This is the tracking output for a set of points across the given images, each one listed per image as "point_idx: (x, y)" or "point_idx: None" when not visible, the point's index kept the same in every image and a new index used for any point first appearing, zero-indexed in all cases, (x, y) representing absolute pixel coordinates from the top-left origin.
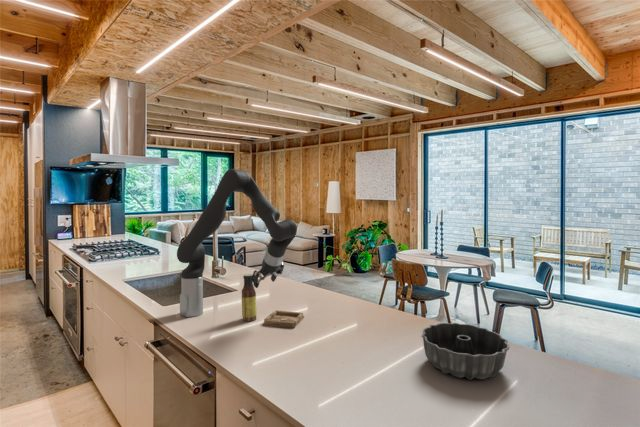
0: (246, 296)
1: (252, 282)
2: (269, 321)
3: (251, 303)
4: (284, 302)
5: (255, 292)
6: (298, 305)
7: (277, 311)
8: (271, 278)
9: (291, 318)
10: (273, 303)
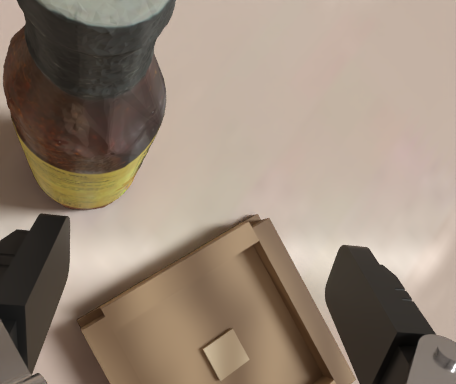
0: (23, 134)
1: (136, 73)
2: (101, 367)
3: (66, 185)
4: (406, 96)
5: (149, 137)
6: (429, 191)
7: (262, 241)
8: (344, 267)
9: (269, 365)
10: (358, 61)
